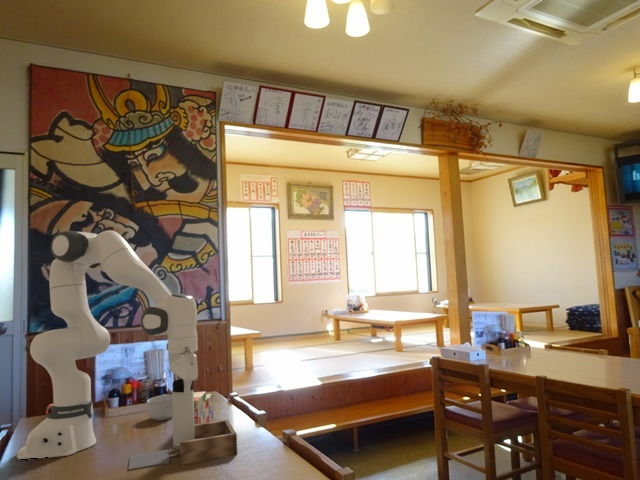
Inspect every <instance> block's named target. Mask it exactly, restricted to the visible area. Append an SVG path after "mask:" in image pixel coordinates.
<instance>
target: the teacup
mask: <svg viewBox="0 0 640 480" xmlns="http://www.w3.org/2000/svg"><path fill="white" fill-rule="evenodd" d="M146 406H147V414H148V416H149V418H151V419H152V420H154V421H157V422H158V421H165V420H168V419H170V418H173V394H162V395H156V396H154V397H151V398H148V399H147V400H146Z"/></svg>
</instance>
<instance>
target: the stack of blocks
mask: <svg viewBox="0 0 640 480" xmlns="http://www.w3.org/2000/svg"><path fill="white" fill-rule="evenodd" d="M213 419H214V408H213V393H207V391H195V392H194V425H196V424H202V423H209V422H212V420H213Z"/></svg>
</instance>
